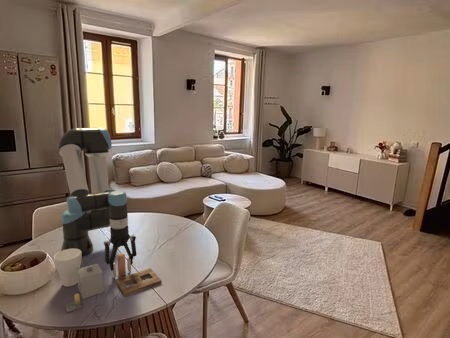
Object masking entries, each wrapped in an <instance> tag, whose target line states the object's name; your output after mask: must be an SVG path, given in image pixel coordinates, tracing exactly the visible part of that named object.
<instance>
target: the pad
mask: <svg viewBox="0 0 450 338" xmlns="http://www.w3.org/2000/svg"><path fill="white" fill-rule="evenodd" d="M80 295H81V294H80V293H75V294H74V295H73V296H74V298H73V299H74V301H72V302H69V303H68V302H67V303H66V304H64V307H65V312H66V313H67V314H70V313H72V312H76V311H78V310H80V309H82V308H83V307H82V306H83V305H82V304H81V299H80V298H81V297H80Z"/></svg>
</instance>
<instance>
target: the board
mask: <svg viewBox="0 0 450 338" xmlns="http://www.w3.org/2000/svg"><path fill="white" fill-rule="evenodd" d="M147 277H148V279H146V280H143V279H144V278H147ZM133 282H134V284H132V285H131V283H133ZM115 283H116V285H117V287H118V288H119V289H120V292H122V295H123V296H124V297H128V296H130V295H133V294H136V293H139V292H141V291H144V290H147V289H149V288H153V287H155V286H158V285H161V284H162V279H161V278H160V277H159V276H158V275H157V273H156V272H154V271H153V269H152V268H151V267H150V268H146V269H143V270H140V271H138V272H135V273H130V274H127V275H126V276H124V277H119V278H116V279H115ZM126 284H130V285H129V286H127V285H126Z"/></svg>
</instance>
